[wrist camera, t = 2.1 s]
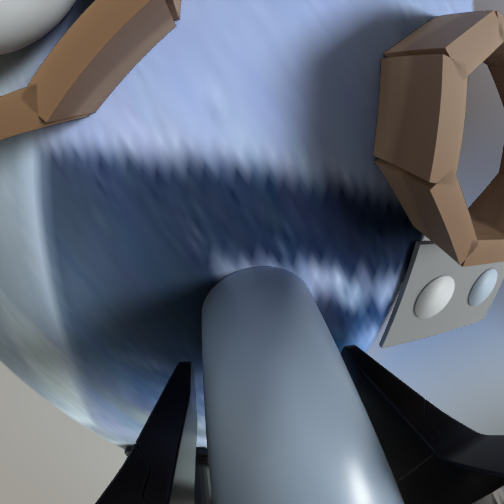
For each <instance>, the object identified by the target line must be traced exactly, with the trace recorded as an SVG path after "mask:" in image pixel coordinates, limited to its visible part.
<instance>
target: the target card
mask: <svg viewBox="0 0 504 504" xmlns="http://www.w3.org/2000/svg"><path fill="white" fill-rule="evenodd" d="M503 278H504V262H498V263H490V264H483V265H475V266H468V267H462V266H461V265H459V264H458V263H457V262H456V261H455V260H453V259H452V258H451V257H450V256H449V255H448V254H446V253H445V252H444V251H443V250H442V249H441V248H439V247H438V246H437V245H436V244H435V243H433V242H432V241H416V243H415V247H414V250H413V254H412V257H411V260H410V263H409V267H408V270H407V273H406V276H405V279H404V282H403V285H402V287H401V290H400V293H399V296H398V299H397V301H396V304H395V307H394V309H393V312H392V314H391V318H390V320H389V322H388V325H387V327H386V329H385V332H384V334H383V337H382V339H381V341H380V344H379V345H380V347H381V348H386V347H390V346H394V345H399V344H403V343H407V342H411V341H415V340H419V339H422V338H425V337H430V336H433V335H437V334H440V333H444V332H447V331H450V330H453V329H457V328H460V327H463V326H466V325H469V324H472V323H475V322H478V321H481V320H483V319H484V317H485V315H486V313H487V311H488V309H489V307H490V306H491V303H492V301H493V299H494V297H495V295H496V293H497V291H498V289H499V287H500V285H501V282H502V280H503Z"/></svg>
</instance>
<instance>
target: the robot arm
mask: <svg viewBox="0 0 504 504" xmlns="http://www.w3.org/2000/svg"><path fill="white" fill-rule="evenodd" d="M341 357H342V359H343V361H344V363H345V365H346V368H347V370H348V372H349V374H350V376H351V379H352V381H353V383H354V385H355V387H356V390H357V392H358V394H359V396H360V398H361V401H362V403H363V405H364V407H365V410H366V412H367V414H368V417H369V419H370V421H371V423H372V426H373V428H374V430H375V433H376V435H377V437H378V440H379V442H380V444H381V447H382V449H383V452H384V454H385V456H386V459H387V461H388V464H389V466H390V468H391V471H392V473H393V476H394V478H395V481H396V483H397V486H398V488H399V491H400V493H401V496H402V498H403V501H404V504H504V435H484V434H480V433H477V432H476V431H474V430H472V429H470V428H468V427H467V426H465V425H463V424H462V423H460V422H458V421H457V420H455V419H453V418H451V417H450V416H449V415H447V414H445V413H444V412H442V411H441V410H439V409H438V408H437V407H435V406H434V405H433V404H431V403H430V402H429V401H427V400H425V399H424V398H423V397H422V396H420V395H419V394H418V393H417V392H415V391H414V390H413V389H411V388H410V387H409V386H407V385H406V384H405V383H403V382H402V381H401V380H399V379H398V378H397V377H396V376H395V375H393V374H392V373H391V372H389V371H388V370H387V369H386V368H384V367H383V366H382V365H380V364H379V363H378V362H376V361H375V360H374V359H373V358H371V357H370V356H369V355H367V354H366V353H365V352H364V351H362V350H361V349H360V348H358V347H357V346H355V345H350V346H345V347H344V348H343V349H342V352H341ZM196 438H197V409H196V394H195V379H194V373H193V367H192V363H191V362H179V363H178V364H177V366H176V368H175V370H174V372H173V373H172V375H171V377H170V379H169V381H168V383H167V384H166V386H165V388H164V390H163V392H162V394H161V396H160V397H159V399H158V401H157V403H156V405H155V407H154V409H153V411H152V412H151V414H150V416H149V418H148V420H147V422H146V424H145V426H144V427H143V429H142V431H141V433H140V435H139V437H138V439H137V441H136V444H134V446H133V447H126V448H125V454H126V455H127V456H128V457H127V459H126V460H125V462H124V464H123V466H122V467H121V469H120V470H119V472H118V473H117V474H116V476H115V477H114V479H113V480H112V481H111V483H110V484H109V486H108V487H107V488H106V490H105V491H104V492H103V494H102V495H101V497H100V498H99V499H98V500H97V502H96V503H95V504H213V503H212V494H211V484H210V473H209V462H208V450H207V449H196Z"/></svg>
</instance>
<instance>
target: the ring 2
mask: <svg viewBox="0 0 504 504" xmlns="http://www.w3.org/2000/svg"><path fill="white" fill-rule="evenodd" d="M384 55H385V56H386V58H381V74H380V91H379V104H378V116H377V126H376V135H375V144H374V152H373V155H374V156H376V157H378V159H376V160H375V161H374V162H375V163H376V165H377V166H378V168H379V169H380V171H381V172H382V174H383V175H384V177H385V179H386V180H387V182H388V183H389V185H390V187H391V188H392V190H393V192H394V193H395V195H396V197H397V198H398V200H399V202H400V204H401V205H402V207H403V209H404V211H405V212H406V214H407V216H408V218H409V220H410V221H411V223H412V225H413V226H414V227H415V228H416V229H417V230H419V231H420V232H421V233H422V234H424V235H425V236H426V237H427V238H429V239H430V240H431V241H432V242H433V243H435V244H436V245H437V246H438V247H439V248H441V249H442V250H443V251H444V252H445V253H446V254H448V255H449V256H450V257H451V258H452V259H453V260H455V261H456V262H457V263H458V264H459V265H461V266H462V267H468V266H475V265H483V264H490V263H498V262H504V147H503V153H502V159H501V165H500V170H499V173H498V174H497V176H496V177H495V178H494V179H493V180H492V182H491V183H490V184H489V185H488V186H487V188H486V189H485V190H484V191H483V192H482V193H481V194H480V196H479V197H478V198H477V199H476V200H475V201H474V202H473V203H472V205H471V206H470V207H469V208H467V205H466V202H465V199H464V196H463V193H462V190H461V188H460V185H459V182H458V180H457V177H456V172H457V167H458V162H459V156H460V150H461V144H462V136H463V129H464V120H465V110H466V98H467V79H468V76H469V75H470V74H471V73H472V72H473V71H474V70H475V69H476V68H477V67H478V66H479V65H480V64H481V63H482V62H484V63H485V64H487V65H488V68H489V70H490V72H491V74H492V77H493V79H494V82H495V84H496V87H497V89H498V92H499V95H500V98H501V100H502V103H503V106H504V17H503V16H502V15H501V14H500V13H499V12H497V11H493V10H490V11H476V12H465V13H457V14H449V15H443V16H436V17H434V18H433V19H431V20H430V21H428V22H427V23H425V24H424V25H422V26H421V27H419V28H418V29H417V30H415V31H414V32H412V33H411V34H409V35H408V36H407V37H405V38H404V39H402V40H401V41H400V42H398V43H397V44H396V45H394V46H393V47H391V48H390V49H389V50H387V51H386V52H385V53H384Z"/></svg>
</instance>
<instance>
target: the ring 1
mask: <svg viewBox="0 0 504 504" xmlns="http://www.w3.org/2000/svg"><path fill="white" fill-rule="evenodd" d="M180 9H181V0H95V1H94V2H93V3H92V4H91V5H90V6H89V7H88V8H87V9H86V10H85V11H84V12H83V14H82V15H81V16H80V17H79V18H78V19H77V20H76V21H75V22H74V24H73V25H72V26H71V27H70V28H69V29H68V31H67V32H66V33H65V34H64V35H63V37H62V38H61V39H60V40H59V42H58V43H57V44H56V46H55V47H54V48H53V49H52V51H51V52H50V53H49V55H48V56H47V58H46V59H45V60H44V62H43V63H42V65H41V66H40V67H39V69H38V70H37V72H36V73H35V75H34V76H33V78H32V79H31V81H30V83H29V84H28V86H27V87H25V88H22V89H19V90H17V91H14V92H11V93H9V94H6V95H4V96H0V140H2V139H5V138H8V137H11V136H14V135H18V134H21V133H25V132H28V131H32V130H36V129H40V128H43V127H47V126H50V125H54V124H58V123H62V122H66V121H70V120H75V119H79V118H84V117H88V116H89V113H95V112H96V111H97V110H98V108H99V107H100V106H101V105H102V103H103V102H104V101H105V100H106V98H107V97H108V96H109V95H110V94H111V92H112V91H113V90H114V89H115V88H116V86H117V85H118V84H119V83H120V82H121V81H122V80H123V78H124V77H125V76H126V75H127V74H128V73H129V72H130V71H131V70H132V69H133V67H134V66H135V65H136V64H137V63H138V62H139V61H140V60H141V59H142V58H143V57H144V56H145V55H146V54H147V53H148V52H149V51H150V50H151V49H152V48H153V47H154V46H155V45H156V44H157V43H158V42H159V41H160V40H161V39H162V38H164V37H165V36H166V35H167V34H168V33H169V32H170V31H171V30H172V29H173V28H175V27H176V24H175V22H174V20H180Z"/></svg>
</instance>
